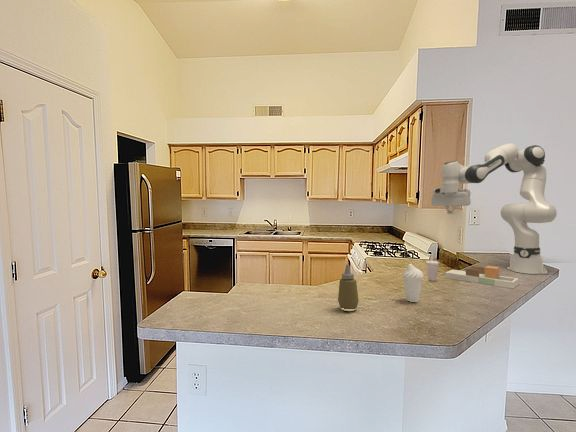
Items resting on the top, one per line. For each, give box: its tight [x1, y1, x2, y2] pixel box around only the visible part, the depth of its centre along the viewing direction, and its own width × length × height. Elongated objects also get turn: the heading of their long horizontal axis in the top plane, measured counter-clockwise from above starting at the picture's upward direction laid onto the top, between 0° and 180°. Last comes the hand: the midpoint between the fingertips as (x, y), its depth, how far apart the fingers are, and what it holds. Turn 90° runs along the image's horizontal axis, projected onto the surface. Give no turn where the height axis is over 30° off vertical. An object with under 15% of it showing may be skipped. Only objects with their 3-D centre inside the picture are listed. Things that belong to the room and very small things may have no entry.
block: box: [485, 265, 500, 279], centre depth 156 cm, size 5×5×5 cm
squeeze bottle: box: [337, 264, 359, 309], centre depth 123 cm, size 8×8×18 cm
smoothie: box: [425, 253, 440, 282], centre depth 165 cm, size 6×6×14 cm
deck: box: [444, 265, 520, 289], centre depth 161 cm, size 10×30×6 cm, turn 42°
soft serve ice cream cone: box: [401, 263, 424, 303], centre depth 131 cm, size 8×8×16 cm
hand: (450, 213), depth 180 cm, fingers closed
